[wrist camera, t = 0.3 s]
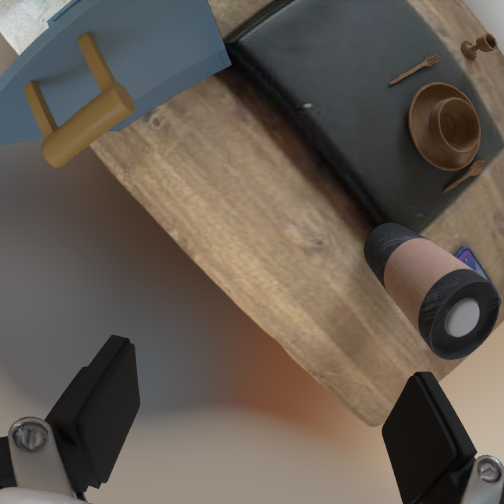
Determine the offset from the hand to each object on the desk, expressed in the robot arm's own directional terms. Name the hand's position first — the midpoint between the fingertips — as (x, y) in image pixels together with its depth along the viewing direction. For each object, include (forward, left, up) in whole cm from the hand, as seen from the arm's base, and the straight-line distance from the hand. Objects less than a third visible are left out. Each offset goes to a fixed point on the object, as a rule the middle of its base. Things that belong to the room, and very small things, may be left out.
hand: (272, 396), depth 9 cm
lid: (-12, -14, -13) cm, 23 cm away
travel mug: (+2, +16, -31) cm, 35 cm away
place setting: (-19, +23, -31) cm, 43 cm away
